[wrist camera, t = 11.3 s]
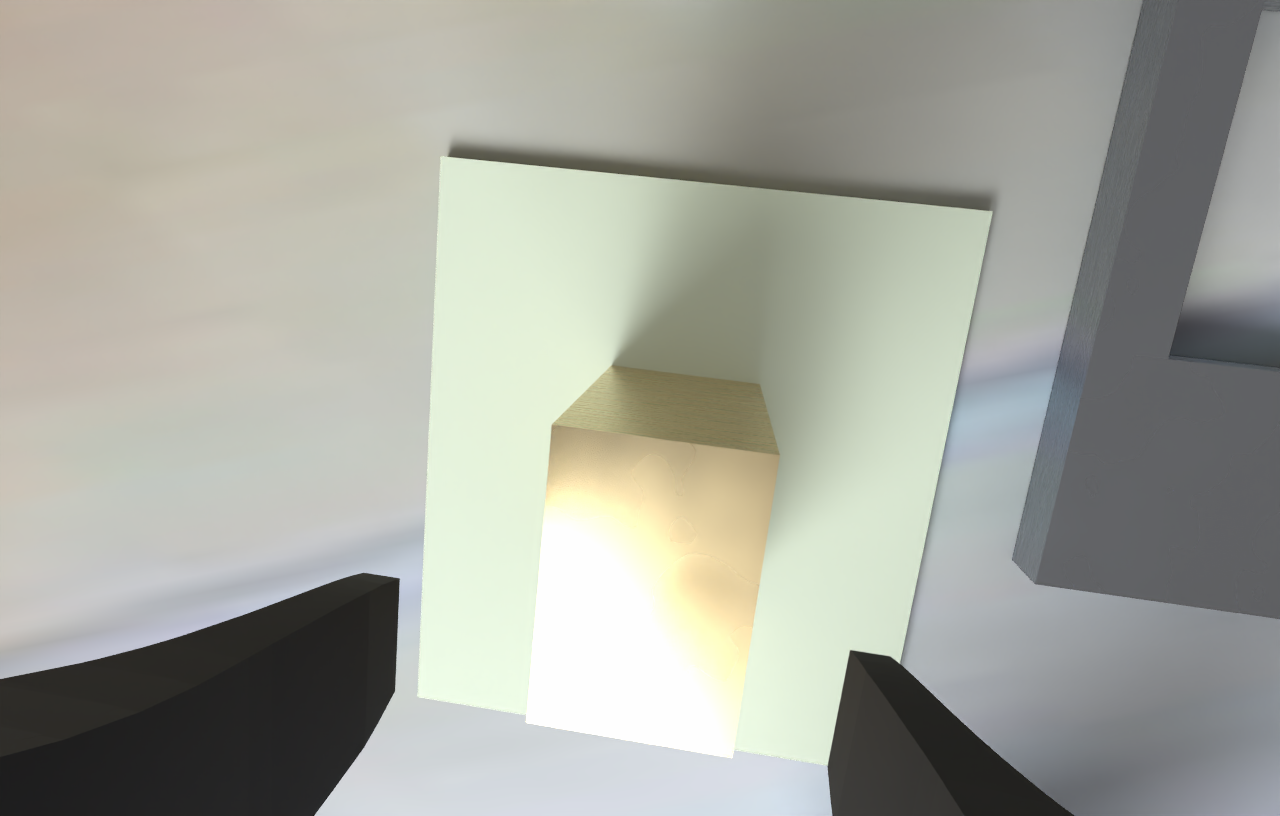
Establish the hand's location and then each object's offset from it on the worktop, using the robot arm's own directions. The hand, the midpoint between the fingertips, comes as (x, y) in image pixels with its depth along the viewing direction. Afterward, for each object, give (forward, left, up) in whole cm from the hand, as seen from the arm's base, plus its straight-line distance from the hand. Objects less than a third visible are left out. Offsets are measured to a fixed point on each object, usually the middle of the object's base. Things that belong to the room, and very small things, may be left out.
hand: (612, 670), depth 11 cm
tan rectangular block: (0, 0, -9) cm, 9 cm away
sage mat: (0, 0, -9) cm, 9 cm away
